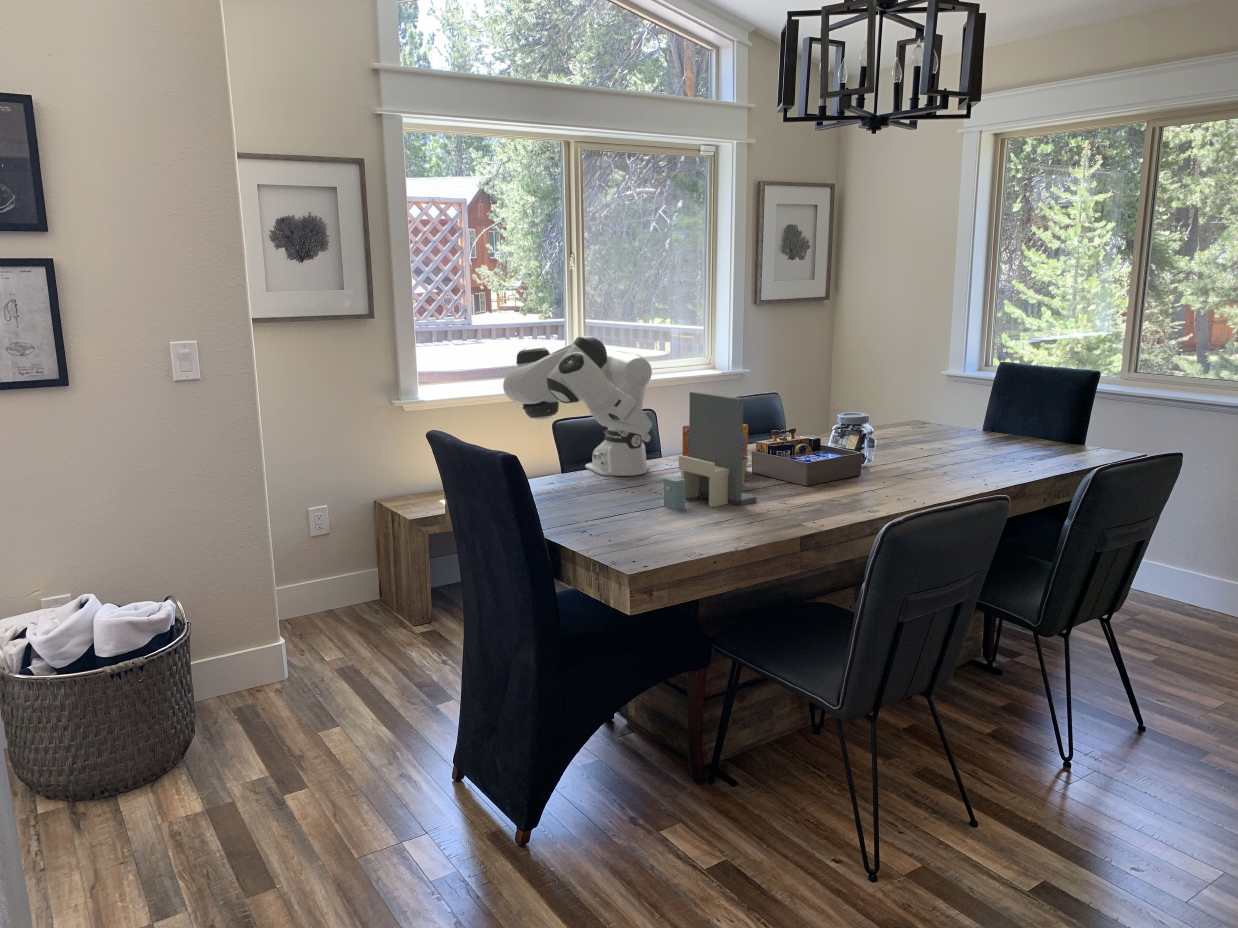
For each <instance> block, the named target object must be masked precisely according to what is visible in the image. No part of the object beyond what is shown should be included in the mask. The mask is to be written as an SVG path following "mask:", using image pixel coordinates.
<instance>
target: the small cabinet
mask: <svg viewBox="0 0 1238 928" xmlns="http://www.w3.org/2000/svg"><path fill="white" fill-rule="evenodd" d="M663 507H665V508H668V509H672V510H675V511H677V510H681V509H686V499H685V480H684V479H681V477H680V478H679V477H678V476H677V477H676V476H670V477H664V478H663Z"/></svg>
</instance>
